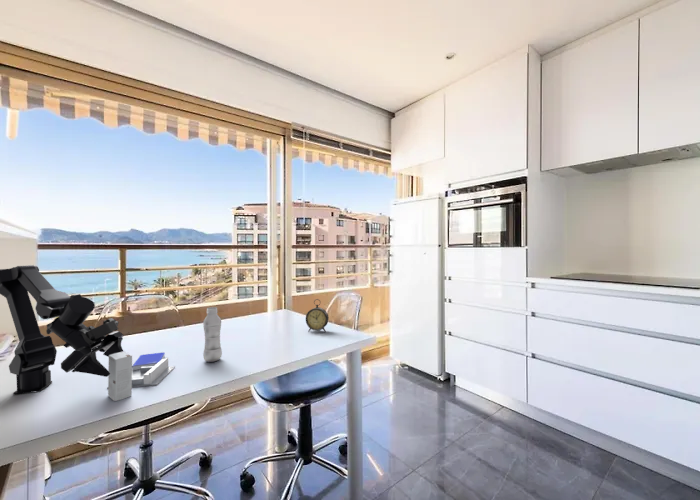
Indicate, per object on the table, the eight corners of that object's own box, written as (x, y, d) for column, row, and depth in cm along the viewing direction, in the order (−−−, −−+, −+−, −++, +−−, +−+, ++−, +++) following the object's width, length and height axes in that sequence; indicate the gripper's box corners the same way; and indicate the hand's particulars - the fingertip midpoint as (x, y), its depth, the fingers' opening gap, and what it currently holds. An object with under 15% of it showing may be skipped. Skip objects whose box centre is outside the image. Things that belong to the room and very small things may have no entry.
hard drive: (159, 362, 110) (164, 352, 121) (131, 365, 107) (140, 354, 118) (159, 366, 110) (164, 356, 121) (131, 370, 107) (140, 359, 118)
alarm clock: (305, 332, 152) (305, 299, 152) (308, 329, 158) (308, 297, 157) (326, 333, 151) (326, 300, 150) (329, 330, 156) (329, 298, 156)
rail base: (107, 388, 94) (107, 376, 94) (132, 370, 108) (131, 359, 108) (156, 385, 97) (156, 373, 96) (175, 367, 110) (174, 356, 110)
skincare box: (107, 395, 90) (106, 354, 90) (125, 389, 94) (124, 350, 93) (115, 402, 87) (114, 359, 86) (133, 395, 90) (132, 354, 90)
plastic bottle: (217, 356, 121) (217, 305, 121) (225, 360, 116) (224, 308, 116) (200, 360, 117) (199, 308, 116) (207, 365, 112) (206, 310, 111)
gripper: (72, 320, 79) (120, 360, 81) (115, 305, 98) (154, 338, 100) (38, 352, 78) (88, 391, 80) (88, 331, 97) (128, 364, 99)
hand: (118, 368), depth 90 cm, fingers open, 9 cm apart
